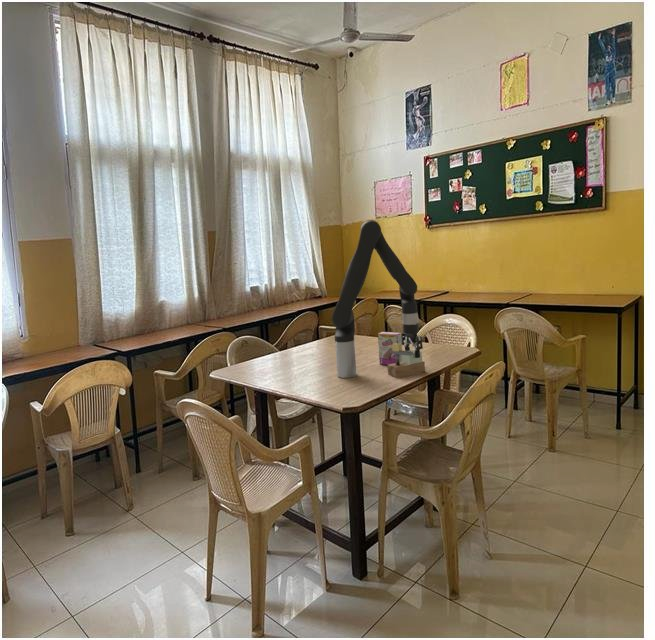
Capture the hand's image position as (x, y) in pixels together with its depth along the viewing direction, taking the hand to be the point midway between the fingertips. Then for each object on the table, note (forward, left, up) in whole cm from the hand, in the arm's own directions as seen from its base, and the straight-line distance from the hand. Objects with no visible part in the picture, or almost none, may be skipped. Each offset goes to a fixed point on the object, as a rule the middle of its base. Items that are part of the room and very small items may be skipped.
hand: (412, 356), depth 239 cm
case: (0, -4, -8) cm, 9 cm away
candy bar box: (-19, -1, -8) cm, 21 cm away
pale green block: (0, 0, -3) cm, 3 cm away
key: (+2, -7, -3) cm, 8 cm away
